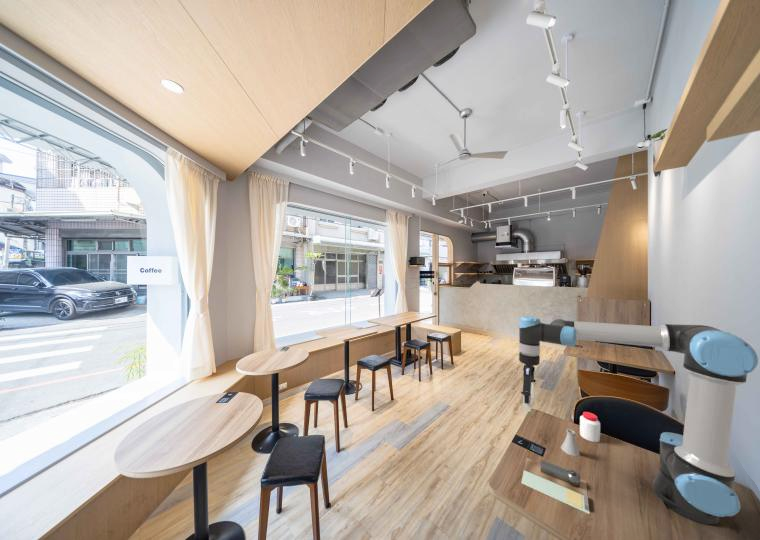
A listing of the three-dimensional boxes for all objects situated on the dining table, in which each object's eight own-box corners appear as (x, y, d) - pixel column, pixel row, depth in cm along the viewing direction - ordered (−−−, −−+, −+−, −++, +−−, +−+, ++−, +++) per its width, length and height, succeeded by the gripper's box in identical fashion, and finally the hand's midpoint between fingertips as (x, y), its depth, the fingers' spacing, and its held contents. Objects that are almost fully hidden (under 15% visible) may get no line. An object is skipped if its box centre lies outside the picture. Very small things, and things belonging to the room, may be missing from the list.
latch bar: (579, 481, 96) (579, 471, 96) (580, 488, 93) (580, 478, 93) (541, 466, 104) (541, 456, 104) (540, 472, 100) (540, 462, 100)
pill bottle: (581, 429, 130) (582, 408, 130) (601, 437, 124) (601, 415, 124) (577, 436, 125) (578, 414, 125) (598, 444, 119) (598, 421, 119)
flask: (584, 460, 109) (584, 437, 109) (565, 458, 110) (566, 435, 110) (574, 449, 116) (575, 427, 116) (557, 446, 117) (557, 425, 117)
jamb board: (585, 484, 97) (586, 481, 97) (587, 499, 90) (587, 496, 90) (526, 460, 108) (526, 457, 108) (523, 472, 102) (523, 469, 102)
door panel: (587, 500, 90) (587, 492, 90) (589, 517, 84) (589, 509, 84) (523, 472, 102) (523, 466, 102) (521, 486, 95) (521, 478, 95)
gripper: (522, 344, 119) (522, 389, 119) (515, 359, 99) (514, 413, 99) (541, 347, 115) (540, 394, 115) (537, 364, 94) (536, 420, 95)
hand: (528, 403), depth 107 cm, fingers open, 13 cm apart
